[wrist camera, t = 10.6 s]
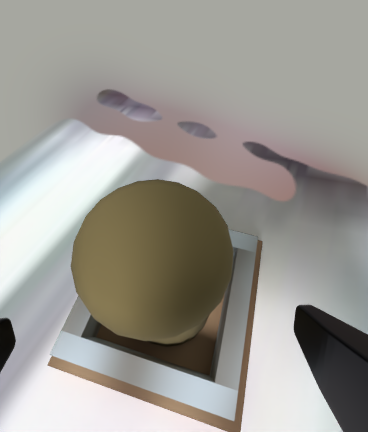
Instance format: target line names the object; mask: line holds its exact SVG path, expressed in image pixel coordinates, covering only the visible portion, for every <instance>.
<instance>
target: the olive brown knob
mask: <svg viewBox="0 0 368 432" xmlns="http://www.w3.org/2000/svg"><path fill="white" fill-rule="evenodd" d="M232 265H233V246H232V242H231V238H230V234H229V230H228V226H227V224H226V223H225V221H224V219H223V218H222V216H221V215H220V213H219V211H218V210H217V208H216V207H215V206H214V205H213V204H212V203H210V202H209V201H208V200H207V199H206V198H204V197H203V196H202V195H201V194H200V193H198V192H197V191H195V190H193V189H191V188H189V187H186V186H184V185H182V184H180V183H177V182H171V181H164V180H147V181H137V182H134V183H132V184H129V185H126V186H123V187H120V188H118V189H116V190H115V191H113V192H112V193H110V194H109V195H107V196H106V197H104V198H103V199H101V200H100V201H99V202H98V203H97V204H96V205H95V207H94V208H93V209H92V210H91V211H90V212H89V213H88V215H87V216H86V217H85V219H84V221H83V224H82V226H81V228H80V230H79V232H78V234H77V236H76V239H75V241H74V245H73V253H72V261H71V270H72V274H73V279H74V283H75V288H76V292H77V294H78V295H79V297H80V299H81V300H82V302H83V303H84V305H85V306H86V307H87V309H88V310H89V312H90V313H91V315H92V316H93V318H94V319H95V320H96V321H98V322H99V323H101V324H102V325H104V326H105V327H106V328H108V329H109V330H111V331H112V332H114V333H115V334H117V335H120V336H124V337H129V338H133V339H138V340H142V341H149V342H150V343H152V344H155V345H160V346H164V347H170V346H177V345H182V344H184V343H185V342H187V341H189V340H191V339H193V338H194V337H195V336H196V335H197V334H198V333H199V332H200V331H201V330H202V329H203V327H204V326H205V324H206V322H207V319H208V317H209V315H210V313H211V312H212V311H213V310H214V309H215V308H216V307H217V306H218V305H219V304H220V303H221V301H222V298H223V296H224V294H225V292H226V289H227V287H228V285H229V282H230V280H231V277H232Z"/></svg>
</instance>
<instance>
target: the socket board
mask: <svg viewBox="0 0 368 432" xmlns="http://www.w3.org/2000/svg"><path fill="white" fill-rule="evenodd" d="M228 230H229V229H228ZM229 234H230V238H231V242H232V246H233V265H232V277H231V280H230V282H229V285H228V287H227V289H226V292H225V294H224V296H223V298H222V301H221V303H220V304H219V305H218V306H217V307H216V308H215V309H214V310H213V311H212V312H211V313H210V315H209V317H208V319H207V322H206V324H205V326H204V327H203V329H202V330H201V331H200V332H199V333H198V334H197V335H196V336H195V337H194V338H193V339H191V340H189V341H187V342H185V343H184V344H182V345H177V346H170V347H164V346H160V345H155V344H152V343H150V342H149V341H142V340H138V339H133V338H129V337H124V336H120V335H117V334H115V333H114V332H112V331H111V330H109V329H108V328H106V327H105V326H104V325H102V324H101V323H99V322H98V321H96V320H95V319H94V318H93V316H92V315H91V313H90V312H89V310H88V309H87V307H86V306H85V305H84V303H83V302H82V300H81V299H80V297H79V296H78V298H77V300H76V302H75V304H74V306H73V308H72V310H71V312H70V314H69V316H68V318H67V320H66V322H65V324H64V326H63V328H62V330H61V332H60V334H59V336H58V338H57V340H56V342H55V344H54V347H53V349H52V351H51V353H50V355H51V356H52V357H51V359H50V361H49V363H48V366H51V367H54V368H56V369H59V370H62V371H64V372H67V373H70V374H73V375H75V376H78V377H81V378H83V379H86V380H89V381H92V382H94V383H97V384H100V385H102V386H105V387H108V388H111V389H113V390H116V391H119V392H122V393H124V394H127V395H130V396H132V397H135V398H138V399H141V400H143V401H146V402H149V403H151V404H154V405H157V406H160V407H162V408H165V409H168V410H170V411H173V412H176V413H179V414H181V415H184V416H187V417H190V418H192V419H195V420H198V421H200V422H203V423H206V424H209V425H211V426H214V427H217V428H219V429H222V430H225V431H228V432H240V431H241V422H242V413H243V405H244V396H245V388H246V379H247V370H248V362H249V353H250V345H251V336H252V327H253V319H254V310H255V302H256V293H257V284H258V276H259V267H260V259H261V250H262V241H259V240H258V237H257V236H253V235H249V234H245V233H241V232H237V231H233V230H229Z"/></svg>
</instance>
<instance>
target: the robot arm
mask: <svg viewBox="0 0 368 432" xmlns="http://www.w3.org/2000/svg"><path fill="white" fill-rule="evenodd" d="M294 333H295V335H296V338H297V340H298V342H299V345H300V347H301V349H302V351H303V353H304V356H305V358H306V360H307V362H308V365H309V367H310V369H311V371H312V374H313V376H314V378H315V380H316V382H317V384H318V387H319V389H320V390H321V392H322V394H323V396H324V398H325V400H326V402H327V403H328V405H329V407H330V409H331V411H332V412H333V414H334V416H335V418H336V420H337V421H338V423H339V425H340V427H341V429H342V430H343V432H368V335H367V334H365V333H363V332H362V331H360V330H358V329H356V328H354V327H352V326H350V325H348V324H346V323H344V322H343V321H341V320H339V319H337V318H335V317H333V316H331V315H329V314H327V313H325V312H324V311H322V310H320V309H318V308H316V307H314V306H312V305H299V306H297V308H296V312H295V320H294ZM15 342H16V339H15V335H14V331H13V327H12V324H11V321H10V320H9V319H8V318H0V372H1V370H2V369H3V367H4V365H5V363H6V361H7V360H8V358H9V356H10V354H11V352H12V351H13V349H14V346H15Z"/></svg>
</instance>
